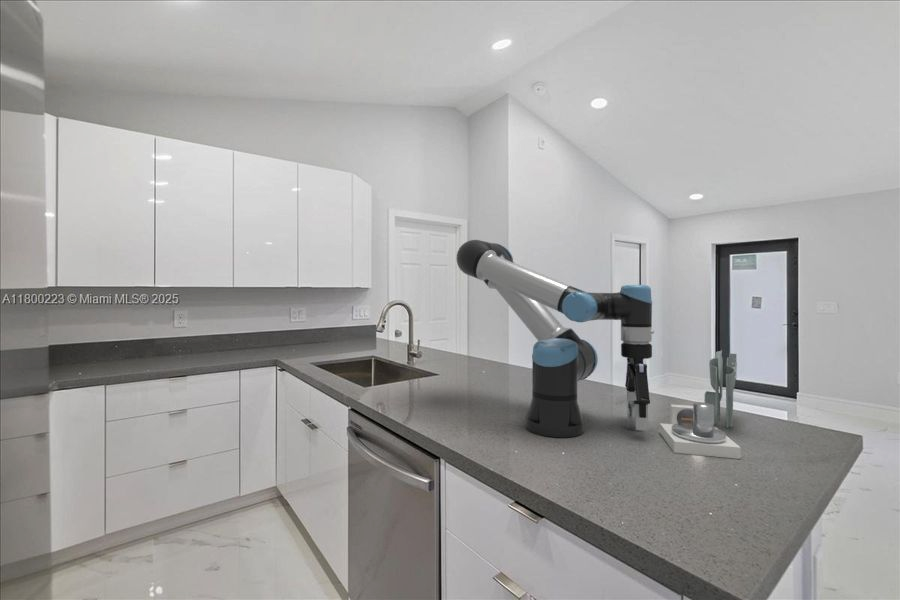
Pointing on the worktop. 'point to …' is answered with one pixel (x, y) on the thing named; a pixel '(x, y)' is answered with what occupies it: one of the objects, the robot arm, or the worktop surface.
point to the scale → (693, 447)
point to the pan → (687, 433)
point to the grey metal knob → (703, 419)
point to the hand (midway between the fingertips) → (636, 422)
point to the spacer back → (631, 416)
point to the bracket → (717, 381)
